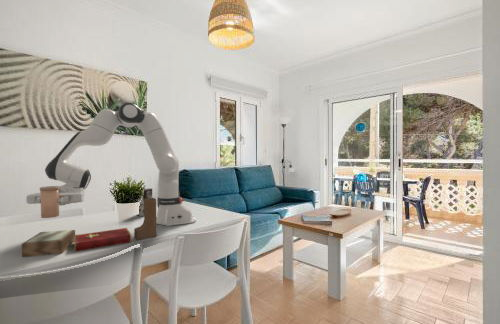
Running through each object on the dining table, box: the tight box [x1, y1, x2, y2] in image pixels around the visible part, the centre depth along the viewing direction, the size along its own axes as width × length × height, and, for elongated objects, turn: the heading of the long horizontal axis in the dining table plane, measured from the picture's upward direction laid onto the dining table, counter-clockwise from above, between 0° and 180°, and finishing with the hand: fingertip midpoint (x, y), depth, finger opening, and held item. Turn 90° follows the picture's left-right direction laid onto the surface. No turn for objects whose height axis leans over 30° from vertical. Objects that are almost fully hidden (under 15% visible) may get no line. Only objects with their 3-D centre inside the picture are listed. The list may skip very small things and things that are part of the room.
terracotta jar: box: [39, 185, 60, 219], centre depth 108 cm, size 6×6×12 cm
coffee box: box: [139, 188, 153, 217], centre depth 168 cm, size 9×6×16 cm
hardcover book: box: [73, 227, 132, 253], centre depth 116 cm, size 12×21×4 cm, turn 124°
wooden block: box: [133, 197, 157, 241], centre depth 123 cm, size 9×4×18 cm, turn 128°
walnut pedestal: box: [21, 229, 76, 258], centre depth 109 cm, size 13×15×5 cm
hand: (48, 200), depth 107 cm, fingers closed on terracotta jar, 6 cm apart
